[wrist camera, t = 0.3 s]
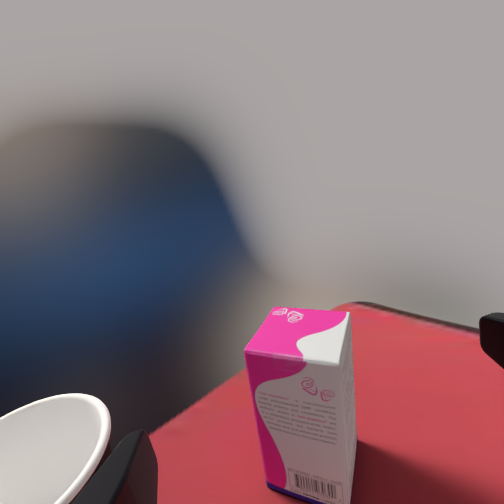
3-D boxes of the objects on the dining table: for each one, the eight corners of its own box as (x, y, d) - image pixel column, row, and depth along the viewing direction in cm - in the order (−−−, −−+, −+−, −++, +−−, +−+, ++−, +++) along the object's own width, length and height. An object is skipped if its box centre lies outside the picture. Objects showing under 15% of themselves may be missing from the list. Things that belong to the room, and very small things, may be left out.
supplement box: (358, 436, 23) (353, 309, 20) (349, 519, 18) (341, 369, 15) (288, 418, 26) (273, 303, 22) (263, 487, 21) (239, 352, 17)
